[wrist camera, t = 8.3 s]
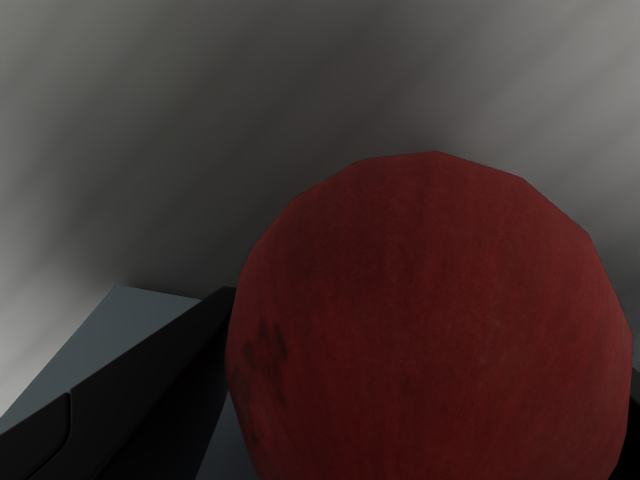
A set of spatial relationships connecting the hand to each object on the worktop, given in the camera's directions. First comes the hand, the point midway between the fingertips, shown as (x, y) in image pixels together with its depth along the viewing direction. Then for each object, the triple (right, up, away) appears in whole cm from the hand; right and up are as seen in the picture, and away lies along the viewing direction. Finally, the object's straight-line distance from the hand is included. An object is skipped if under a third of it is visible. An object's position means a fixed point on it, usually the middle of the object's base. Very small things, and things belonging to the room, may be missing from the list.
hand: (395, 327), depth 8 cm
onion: (+1, +2, +2) cm, 3 cm away
